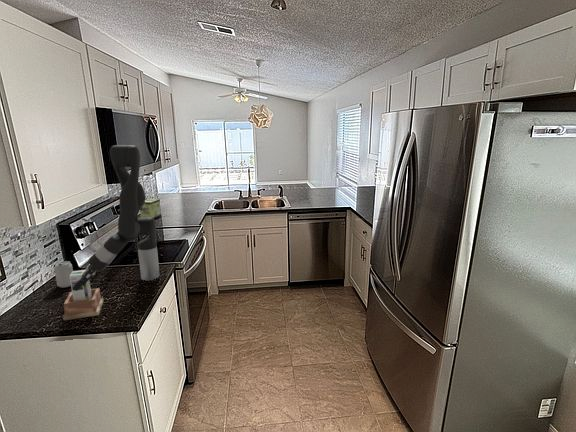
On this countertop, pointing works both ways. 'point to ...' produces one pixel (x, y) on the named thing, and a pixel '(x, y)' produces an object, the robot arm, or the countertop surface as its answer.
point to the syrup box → (84, 290)
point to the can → (63, 273)
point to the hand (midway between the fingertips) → (76, 286)
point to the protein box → (151, 208)
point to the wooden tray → (83, 306)
